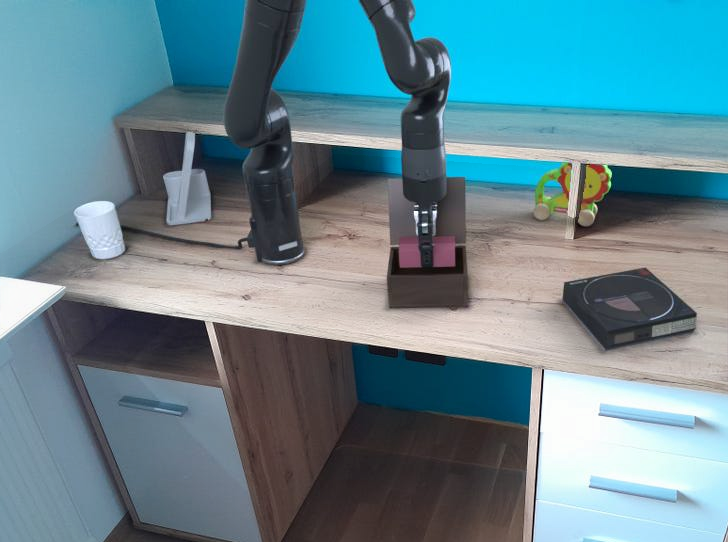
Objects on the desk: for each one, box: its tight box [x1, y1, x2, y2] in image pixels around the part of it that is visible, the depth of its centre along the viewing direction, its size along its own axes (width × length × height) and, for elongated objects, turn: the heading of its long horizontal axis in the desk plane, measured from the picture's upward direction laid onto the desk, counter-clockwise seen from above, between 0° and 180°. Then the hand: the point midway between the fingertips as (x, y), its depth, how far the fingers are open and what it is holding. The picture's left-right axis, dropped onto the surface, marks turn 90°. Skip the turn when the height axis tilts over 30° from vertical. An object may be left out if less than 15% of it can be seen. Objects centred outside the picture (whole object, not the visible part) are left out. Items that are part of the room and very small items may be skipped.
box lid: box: [387, 176, 467, 246], centre depth 130 cm, size 12×14×1 cm
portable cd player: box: [561, 267, 698, 352], centre depth 121 cm, size 16×17×4 cm
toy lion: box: [533, 162, 613, 227], centre depth 150 cm, size 16×5×15 cm, turn 69°
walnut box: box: [386, 245, 469, 310], centre depth 129 cm, size 11×14×7 cm
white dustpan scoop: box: [162, 132, 212, 226], centre depth 160 cm, size 17×10×18 cm, turn 15°
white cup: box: [73, 200, 126, 260], centre depth 145 cm, size 8×8×10 cm
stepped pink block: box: [398, 236, 456, 268], centre depth 125 cm, size 10×5×4 cm, turn 89°
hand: (427, 258), depth 126 cm, fingers closed on stepped pink block, 5 cm apart
